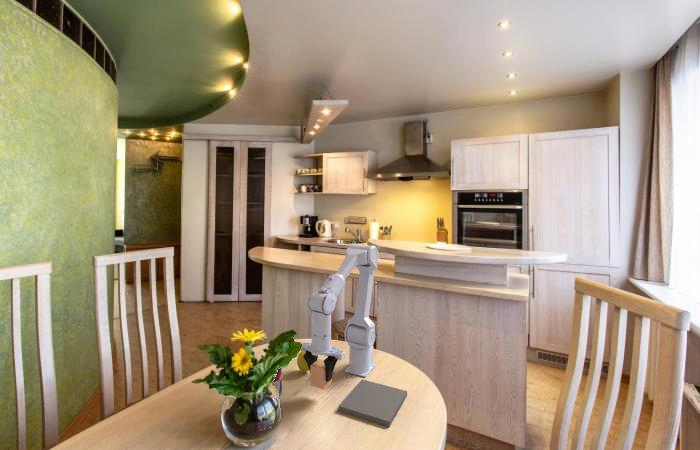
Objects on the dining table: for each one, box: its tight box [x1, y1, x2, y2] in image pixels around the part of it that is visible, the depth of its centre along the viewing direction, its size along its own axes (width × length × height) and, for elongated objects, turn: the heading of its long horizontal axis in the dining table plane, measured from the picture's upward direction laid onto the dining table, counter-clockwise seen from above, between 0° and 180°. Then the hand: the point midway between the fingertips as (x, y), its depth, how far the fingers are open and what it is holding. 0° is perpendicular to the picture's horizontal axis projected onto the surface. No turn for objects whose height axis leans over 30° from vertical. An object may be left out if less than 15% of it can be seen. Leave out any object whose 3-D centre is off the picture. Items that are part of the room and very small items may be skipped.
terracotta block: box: [310, 358, 333, 390], centre depth 98 cm, size 5×5×6 cm
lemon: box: [296, 350, 310, 373], centre depth 113 cm, size 6×6×8 cm
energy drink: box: [272, 367, 283, 397], centre depth 99 cm, size 5×5×12 cm
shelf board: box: [338, 379, 408, 428], centre depth 96 cm, size 16×15×2 cm
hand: (321, 378), depth 98 cm, fingers closed on terracotta block, 5 cm apart
